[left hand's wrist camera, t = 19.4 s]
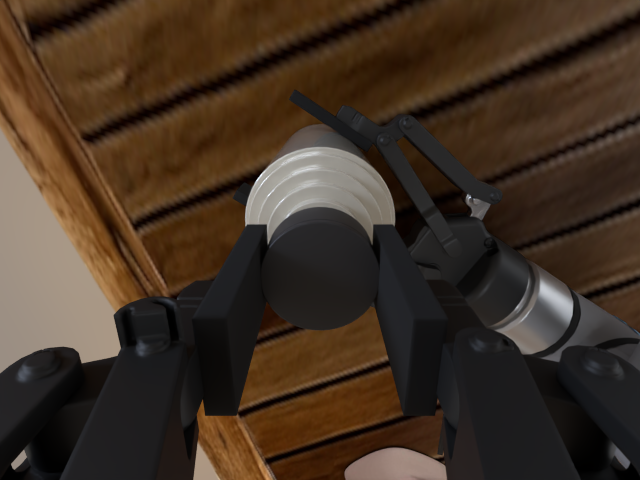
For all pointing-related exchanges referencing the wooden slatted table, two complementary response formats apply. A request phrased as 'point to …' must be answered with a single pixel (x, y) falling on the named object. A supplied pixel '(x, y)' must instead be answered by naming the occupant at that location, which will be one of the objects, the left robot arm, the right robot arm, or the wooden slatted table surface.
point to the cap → (320, 269)
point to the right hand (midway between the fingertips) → (265, 144)
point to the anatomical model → (396, 466)
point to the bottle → (319, 182)
